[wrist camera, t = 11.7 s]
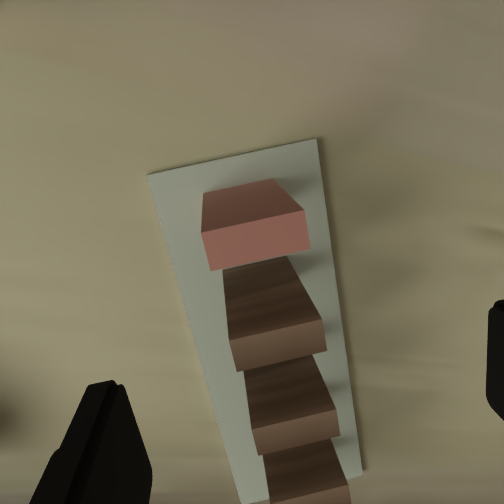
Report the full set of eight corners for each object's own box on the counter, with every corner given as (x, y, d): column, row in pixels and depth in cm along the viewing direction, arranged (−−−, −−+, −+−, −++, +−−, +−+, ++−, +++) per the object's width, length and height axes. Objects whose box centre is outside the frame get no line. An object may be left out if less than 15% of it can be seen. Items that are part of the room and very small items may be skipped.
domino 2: (222, 270, 30) (228, 340, 21) (286, 255, 30) (322, 318, 21) (227, 293, 31) (236, 372, 21) (290, 279, 31) (327, 350, 22)
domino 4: (253, 396, 34) (270, 504, 25) (309, 383, 34) (348, 484, 25) (257, 415, 35) (275, 526, 25) (313, 401, 35) (351, 507, 26)
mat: (147, 174, 28) (146, 175, 27) (314, 138, 28) (316, 138, 28) (241, 500, 39) (241, 505, 38) (361, 471, 39) (363, 475, 38)
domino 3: (238, 337, 32) (251, 429, 23) (298, 323, 32) (336, 409, 23) (243, 357, 33) (258, 455, 23) (302, 344, 33) (340, 436, 24)
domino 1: (202, 193, 28) (200, 232, 19) (272, 178, 28) (304, 209, 19) (209, 220, 29) (210, 271, 19) (277, 205, 29) (310, 248, 19)
